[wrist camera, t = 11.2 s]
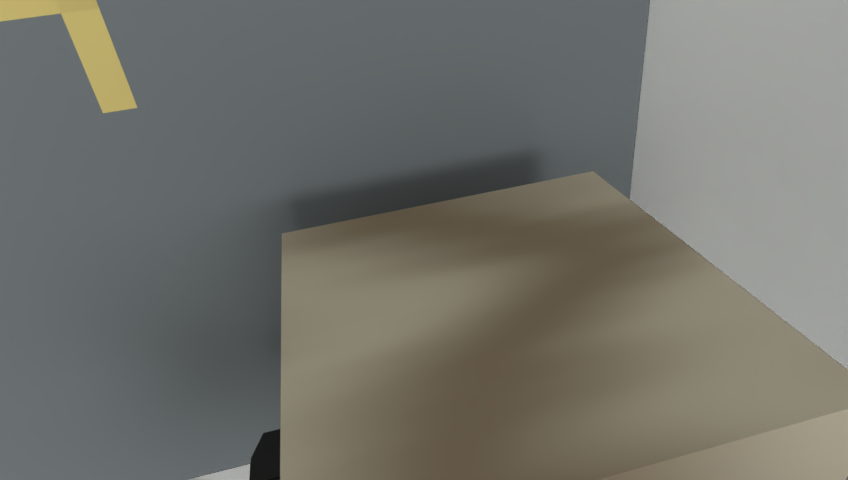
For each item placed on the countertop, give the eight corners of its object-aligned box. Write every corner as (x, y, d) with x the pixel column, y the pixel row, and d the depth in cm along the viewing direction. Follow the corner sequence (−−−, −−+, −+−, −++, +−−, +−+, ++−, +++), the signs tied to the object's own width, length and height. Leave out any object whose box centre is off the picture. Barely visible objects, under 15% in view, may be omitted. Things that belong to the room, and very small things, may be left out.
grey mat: (702, -710, 7) (728, -750, 7) (602, 361, 17) (611, 373, 16) (-1193, -783, 5) (-1343, -856, 4) (-22, 516, 14) (-31, 534, 14)
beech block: (593, 170, 10) (885, 398, 5) (576, 442, 15) (732, 715, 10) (281, 233, 10) (280, 570, 5) (357, 502, 14) (400, 835, 9)
